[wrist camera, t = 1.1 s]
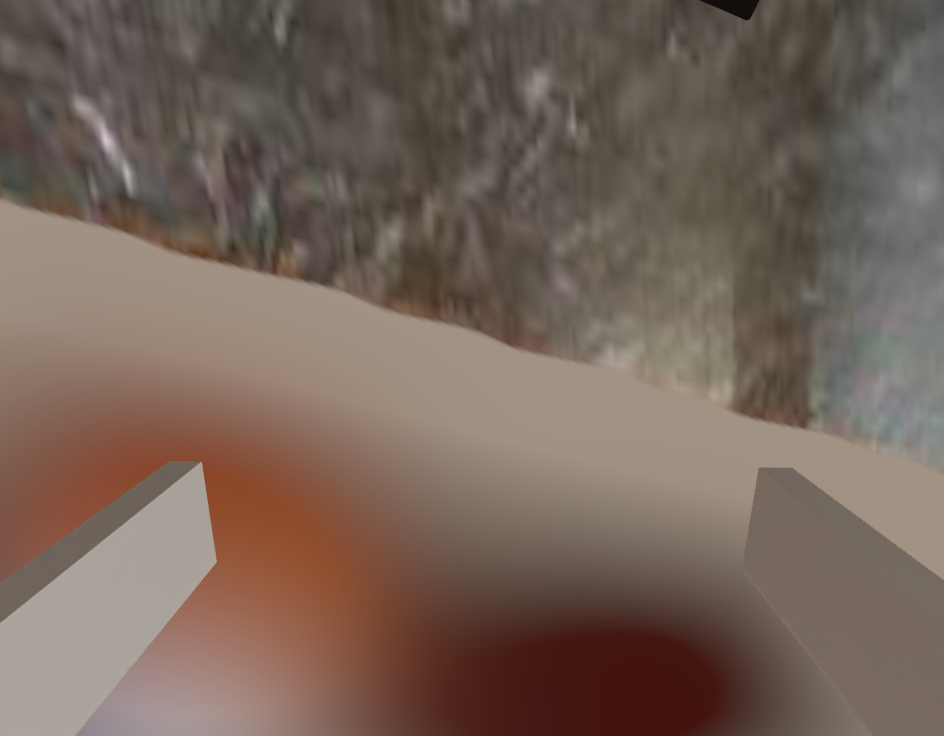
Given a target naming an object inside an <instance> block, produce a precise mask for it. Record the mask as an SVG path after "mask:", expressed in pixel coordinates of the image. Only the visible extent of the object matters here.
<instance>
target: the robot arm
mask: <svg viewBox="0 0 944 736" xmlns="http://www.w3.org/2000/svg"><path fill="white" fill-rule="evenodd" d="M216 562H217V561H216V555H215V548H214V541H213V535H212V528H211V522H210V515H209V508H208V501H207V495H206V488H205V482H204V475H203V468H202V462H185V461H169V462H168V463H167V464H165V465H164V466H162V467H161V468H160V469H158V470H157V471H155V472H154V473H153V474H151V475H150V476H149V477H147V478H146V479H144V480H143V481H142V482H140V483H139V484H137V485H136V486H135V487H133V488H132V489H131V490H129V491H128V492H126V493H125V494H124V495H122V496H121V497H119V498H118V499H116V500H115V501H114V502H112V503H111V504H110V505H108V506H107V507H105V508H104V509H103V510H101V511H100V512H98V513H97V514H96V515H94V516H93V517H91V518H90V519H89V520H87V521H86V522H85V523H83V524H82V525H80V526H79V527H78V528H76V529H75V530H73V531H72V532H71V533H69V534H68V535H66V536H65V537H64V538H62V539H61V540H59V541H58V542H57V543H55V544H54V545H53V546H51V547H50V548H48V549H47V550H45V551H44V552H43V553H41V554H40V555H39V556H37V557H36V558H34V559H33V560H32V561H30V562H29V563H28V564H26V565H25V566H23V567H22V568H20V569H19V570H18V571H16V572H15V573H14V574H12V575H11V576H9V577H8V578H7V579H5V580H4V581H2V582H1V583H0V736H75V735H76V734H77V733H78V731H79V730H80V729H81V728H82V727H83V725H84V724H85V723H86V722H87V720H88V719H89V718H90V717H91V716H92V714H93V713H94V712H95V711H96V709H97V708H98V707H99V706H100V704H101V703H102V702H103V701H104V699H105V698H106V697H107V696H108V695H109V693H110V692H111V691H112V690H113V689H114V687H115V686H116V684H118V682H119V681H120V680H121V679H122V678H123V676H124V675H125V674H126V673H127V671H128V670H129V669H130V668H131V666H132V665H133V664H134V663H135V661H136V660H137V659H138V658H139V657H140V655H141V654H142V653H143V652H144V651H145V649H146V648H147V647H148V645H149V644H150V643H151V642H152V640H153V639H154V638H155V637H156V636H157V635H158V633H159V632H160V631H161V630H162V628H163V627H164V626H165V625H166V623H167V622H168V621H169V620H170V619H171V617H172V616H173V615H174V614H175V612H176V611H177V610H178V609H179V607H180V606H181V605H182V604H183V602H184V601H185V600H186V599H187V598H188V597H189V595H190V594H191V593H192V592H193V590H194V589H195V588H196V587H197V585H198V584H199V583H200V582H201V581H202V579H203V578H204V577H205V576H206V574H207V573H208V572H209V571H210V570H211V568H212V567H213V566H214V564H215V563H216ZM742 570H743V571H744V573H745V574H746V575H747V577H748V578H749V579H750V580H751V582H752V583H753V584H754V586H755V587H756V588H757V589H758V591H759V592H760V593H761V594H762V596H763V597H764V598H765V599H766V601H767V602H768V603H769V605H770V606H771V607H772V608H773V610H774V611H775V612H776V613H777V615H778V616H779V617H780V619H781V620H782V621H783V622H784V624H785V625H786V626H787V627H788V629H789V630H790V631H791V633H792V634H793V635H794V636H795V637H796V639H797V640H798V641H799V643H800V644H801V645H802V646H803V648H804V649H805V650H806V652H807V653H808V654H809V655H810V657H811V658H812V659H813V661H814V662H815V663H816V664H817V666H819V668H820V669H821V671H822V672H823V673H824V675H825V676H826V677H827V678H828V679H829V681H830V682H831V683H832V685H833V686H834V687H835V689H836V690H837V691H838V692H839V693H840V695H841V696H842V697H843V699H844V700H845V701H846V703H847V704H848V705H849V706H850V708H851V709H852V710H853V711H854V713H855V714H856V715H857V717H858V718H859V719H860V720H861V722H862V723H863V724H864V725H865V727H866V728H867V729H868V731H869V732H870V733H871V734H872V735H873V736H944V580H943V579H941V578H940V577H938V576H937V575H936V574H934V573H933V572H932V571H930V570H929V569H928V568H926V567H925V566H924V565H922V564H921V563H920V562H918V561H917V560H916V559H914V558H913V557H912V556H910V555H909V554H907V553H906V552H905V551H903V550H902V549H901V548H899V547H898V546H897V545H895V544H894V543H893V542H891V541H890V540H889V539H887V538H886V537H885V536H883V535H882V534H880V533H879V532H878V531H876V530H875V529H873V528H872V527H871V526H870V525H868V524H867V523H866V522H864V521H863V520H862V519H860V518H859V517H857V516H856V515H855V514H853V513H852V512H851V511H849V510H848V509H847V508H845V507H844V506H843V505H841V504H840V503H839V502H837V501H836V500H834V499H833V498H832V497H830V496H829V495H828V494H826V493H825V492H824V491H822V490H821V489H820V488H818V487H817V486H816V485H814V484H813V483H812V482H810V481H809V480H808V479H806V478H805V477H804V476H802V475H801V474H799V473H798V472H797V471H795V470H794V469H793V468H759V470H758V476H757V482H756V489H755V495H754V500H753V506H752V512H751V518H750V524H749V530H748V536H747V542H746V548H745V554H744V560H743V566H742Z"/></svg>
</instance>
